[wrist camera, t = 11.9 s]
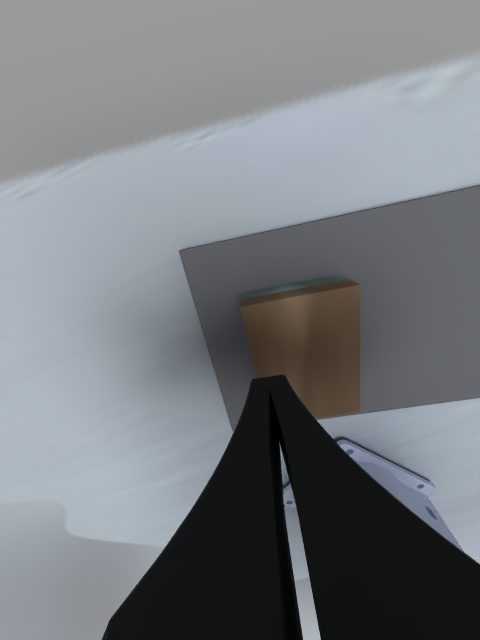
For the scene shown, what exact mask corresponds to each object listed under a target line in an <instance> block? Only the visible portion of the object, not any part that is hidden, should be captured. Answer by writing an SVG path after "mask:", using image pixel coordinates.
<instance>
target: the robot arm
mask: <svg viewBox="0 0 480 640" xmlns="http://www.w3.org/2000/svg"><path fill="white" fill-rule="evenodd" d="M279 441H280V444H279ZM280 445H281V449H282V453H283V457H284V461H285V465H286V469H287V473H288V476H289V480H290V484H289V485H288V486H287V487H285V488H284V489H283V485H282V471H281V457H280ZM435 491H436V487H435V486H434V485H433V483H431V482H429V481H427V480H425V479H423V478H421V477H419V476H417V475H415V474H413V473H411V472H409V471H407V470H405V469H403V468H401V467H399V466H397V465H395V464H393V463H391V462H389V461H387V460H385V459H383V458H381V457H379V456H377V455H375V454H373V453H371V452H369V451H367V450H365V449H363V448H361V447H359V446H357V445H355V444H353V443H351V442H349V441H347V440H339V441H337V442H335V441H334V440H333V438H332V437H331V436H330V435H329V434H328V433H327V432H326V431H325V430H324V428H323V427H322V426H321V425H320V424H319V423H318V422H317V420H316V419H315V418H314V417H313V416H312V414H311V413H310V412H309V410H308V409H307V408H306V407H305V405H304V404H303V403H302V401H301V400H300V399H299V397H298V396H297V394H296V393H295V391H294V390H293V388H292V387H291V385H290V383H289V381H288V380H287V377H286V376H285V375H283V374H282V375H276V376H269V377H263V378H256V379H252V381H251V382H250V387H249V392H248V395H247V399H246V402H245V405H244V408H243V410H242V413H241V416H240V418H239V421H238V424H237V426H236V428H235V431H234V433H233V435H232V437H231V440H230V442H229V444H228V446H227V448H226V450H225V452H224V454H223V456H222V458H221V460H220V462H219V464H218V466H217V468H216V469H215V471H214V473H213V475H212V477H211V478H210V480H209V482H208V483H207V485H206V487H205V488H204V490H203V492H202V493H201V495H200V497H199V498H198V500H197V501H196V503H195V505H194V506H193V508H192V509H191V511H190V512H189V514H188V515H187V517H186V518H185V520H184V521H183V522H182V524H181V525H180V527H179V528H178V530H177V531H176V533H175V534H174V535H173V537H172V538H171V540H170V541H169V543H168V544H167V546H166V547H165V548H164V550H163V551H162V553H161V554H160V555H159V557H158V558H157V559H156V561H155V562H154V564H153V565H152V566H151V567H150V569H149V570H148V571H147V572H146V574H145V575H144V576H143V578H142V579H141V580H140V582H139V583H138V584H137V585H136V587H135V588H134V589H133V591H132V592H131V593H130V594H129V596H128V597H127V598H126V600H125V601H124V602H123V603H122V605H121V606H120V607H119V609H118V610H117V611H116V613H115V614H114V615H113V616H112V618H111V619H110V621H109V623H108V626H107V628H106V631H105V633H104V636H103V638H102V640H303V636H302V629H301V623H300V616H299V609H298V603H297V596H296V589H295V582H294V575H293V569H292V562H291V555H290V548H289V541H288V534H287V527H286V520H285V510H284V505H287V506H289V507H292V508H294V509H297V513H298V517H299V522H300V528H301V533H302V538H303V544H304V549H305V555H306V560H307V566H308V571H309V577H310V582H311V588H312V593H313V599H314V603H315V609H316V614H317V620H318V626H319V631H320V637H321V640H480V564H479V563H477V562H476V561H475V560H473V559H472V558H471V557H469V556H468V555H467V554H466V553H464V551H463V550H462V548H461V547H460V545H459V543H458V542H457V540H456V539H455V537H454V536H453V534H452V533H451V531H450V530H449V528H448V527H447V525H446V524H445V522H444V521H443V519H442V518H441V516H440V515H439V513H438V512H437V510H436V509H435V507H434V506H433V504H432V503H431V501H430V500H429V498H428V496H430V495H431V494H433V493H434V492H435Z"/></svg>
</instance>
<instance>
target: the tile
mask: <svg viewBox="0 0 480 640" xmlns="http://www.w3.org/2000/svg"><path fill="white" fill-rule="evenodd" d="M360 301H361V285H360V284H359V283H357V282H355V281H353V280H351V279H350V278H348V277H346V276H344V275H342V274H339V275H334V276H329V277H323V278H318V279H313V280H308V281H303V282H297V283H292V284H287V285H282V286H277V287H271V288H266V289H261V290H256V291H251V292H245V293H241V305H240V307H241V312H242V317H243V321H244V326H245V330H246V335H247V340H248V344H249V349H250V354H251V358H252V363H253V367H254V372H255V377H256V378H263V377H269V376H276V375H282V374H283V375H285V376H286V377H287V380H288V381H289V383H290V385H291V387H292V388H293V390H294V391H295V393H296V394H297V396H298V397H299V399H300V400H301V401H302V403H303V404H304V405H305V407H306V408H307V409H308V410H309V412H310V413H311V414H312V416H313V417H314V418H321V417H328V416H336V415H343V414H350V413H358V412H360Z"/></svg>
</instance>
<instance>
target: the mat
mask: <svg viewBox="0 0 480 640" xmlns="http://www.w3.org/2000/svg"><path fill="white" fill-rule="evenodd" d="M179 253H180V256H181V260H182V263H183V266H184V270H185V273H186V276H187V280H188V283H189V286H190V290H191V293H192V297H193V300H194V303H195V307H196V310H197V313H198V317H199V320H200V323H201V327H202V330H203V333H204V337H205V340H206V343H207V347H208V350H209V353H210V357H211V360H212V363H213V367H214V370H215V373H216V377H217V380H218V383H219V387H220V390H221V393H222V397H223V400H224V403H225V407H226V410H227V413H228V417H229V420H230V423H231V427H232V430H233V431H235V428H236V426H237V424H238V421H239V418H240V416H241V413H242V410H243V408H244V405H245V402H246V399H247V395H248V392H249V387H250V382H251V381H252V379H256V377H255V372H254V367H253V363H252V358H251V354H250V349H249V344H248V340H247V335H246V330H245V326H244V321H243V317H242V312H241V307H240V305H241V293H245V292H251V291H256V290H261V289H266V288H271V287H277V286H282V285H287V284H292V283H297V282H303V281H308V280H313V279H318V278H323V277H329V276H334V275H339V274H342V275H344V276H346V277H348V278H350V279H351V280H353V281H355V282H357V283H359V284H360V285H361V301H360V412H358V413H350V414H343V415H336V416H328V417H321V418H315V419H316V420H318V419H326V418H333V417H341V416H348V415H356V414H363V413H370V412H378V411H385V410H393V409H400V408H408V407H415V406H422V405H430V404H437V403H445V402H452V401H460V400H467V399H475V398H480V186H475V187H471V188H466V189H461V190H457V191H452V192H448V193H443V194H438V195H434V196H429V197H424V198H420V199H415V200H411V201H406V202H401V203H397V204H392V205H387V206H383V207H378V208H373V209H369V210H364V211H360V212H355V213H350V214H346V215H341V216H336V217H332V218H327V219H323V220H318V221H313V222H309V223H304V224H299V225H295V226H290V227H286V228H281V229H276V230H272V231H267V232H262V233H258V234H253V235H249V236H244V237H239V238H235V239H230V240H225V241H221V242H216V243H212V244H207V245H202V246H198V247H193V248H188V249H184V250H180V251H179Z"/></svg>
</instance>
